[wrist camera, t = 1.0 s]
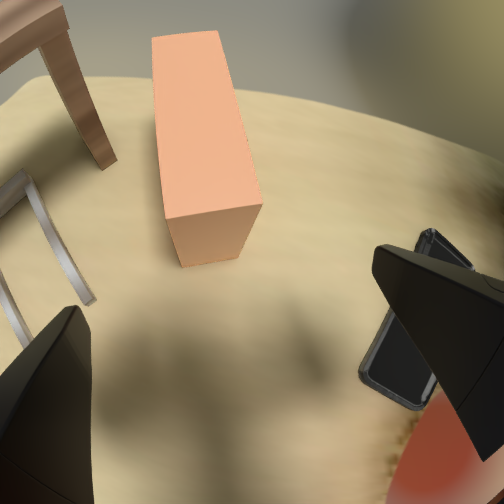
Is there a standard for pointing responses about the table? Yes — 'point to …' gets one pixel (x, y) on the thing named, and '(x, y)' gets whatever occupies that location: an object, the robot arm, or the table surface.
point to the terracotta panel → (202, 149)
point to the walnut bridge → (77, 104)
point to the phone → (406, 342)
